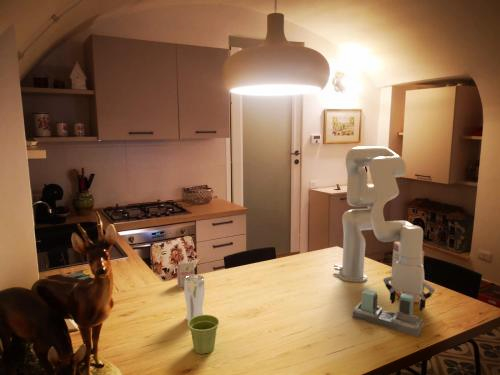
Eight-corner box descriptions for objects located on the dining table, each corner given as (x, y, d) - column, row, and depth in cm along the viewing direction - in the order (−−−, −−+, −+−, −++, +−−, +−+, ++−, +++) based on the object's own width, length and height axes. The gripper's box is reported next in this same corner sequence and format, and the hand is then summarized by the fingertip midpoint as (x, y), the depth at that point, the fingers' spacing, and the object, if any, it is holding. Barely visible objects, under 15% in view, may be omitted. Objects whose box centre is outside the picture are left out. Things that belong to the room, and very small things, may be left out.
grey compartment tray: (352, 317, 133) (352, 308, 133) (358, 309, 139) (359, 301, 139) (418, 337, 121) (419, 327, 120) (422, 327, 127) (423, 318, 126)
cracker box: (421, 303, 145) (425, 251, 142) (406, 303, 145) (410, 251, 142) (403, 288, 159) (407, 240, 156) (389, 288, 158) (393, 241, 155)
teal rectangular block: (360, 311, 133) (362, 292, 132) (364, 307, 136) (365, 288, 135) (373, 314, 130) (374, 295, 129) (377, 310, 133) (378, 291, 132)
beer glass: (199, 325, 127) (198, 283, 125) (181, 321, 129) (180, 280, 127) (208, 315, 134) (207, 275, 131) (191, 312, 136) (190, 273, 134)
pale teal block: (397, 315, 135) (399, 297, 134) (400, 311, 138) (402, 293, 137) (409, 319, 133) (411, 300, 132) (412, 314, 136) (413, 296, 135)
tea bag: (177, 284, 161) (177, 262, 159) (193, 282, 163) (192, 260, 161) (178, 288, 157) (178, 265, 156) (194, 285, 159) (194, 263, 158)
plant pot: (182, 353, 111) (181, 326, 110) (198, 337, 119) (198, 312, 118) (209, 361, 107) (209, 333, 106) (224, 344, 116) (224, 318, 114)
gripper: (382, 258, 134) (379, 303, 137) (434, 267, 125) (431, 316, 127) (387, 253, 140) (385, 296, 143) (438, 261, 131) (435, 308, 133)
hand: (407, 305), depth 135 cm, fingers open, 9 cm apart
